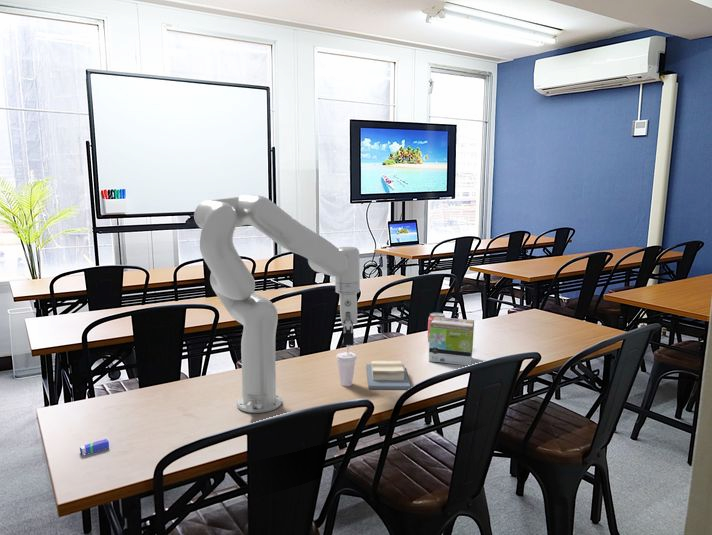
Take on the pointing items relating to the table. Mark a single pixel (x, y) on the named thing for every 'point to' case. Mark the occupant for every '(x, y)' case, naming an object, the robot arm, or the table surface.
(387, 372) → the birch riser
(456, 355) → the tea box
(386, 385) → the board
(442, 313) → the soda can
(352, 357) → the smoothie
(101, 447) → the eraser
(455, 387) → the table surface
